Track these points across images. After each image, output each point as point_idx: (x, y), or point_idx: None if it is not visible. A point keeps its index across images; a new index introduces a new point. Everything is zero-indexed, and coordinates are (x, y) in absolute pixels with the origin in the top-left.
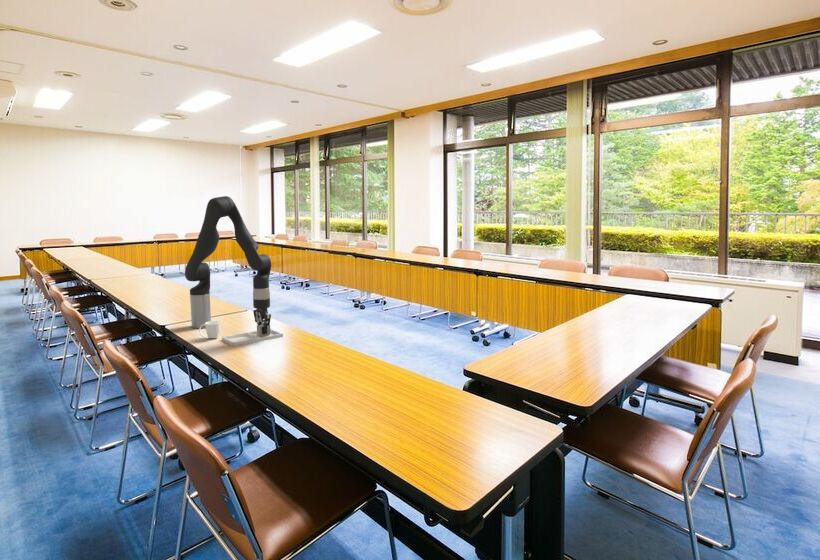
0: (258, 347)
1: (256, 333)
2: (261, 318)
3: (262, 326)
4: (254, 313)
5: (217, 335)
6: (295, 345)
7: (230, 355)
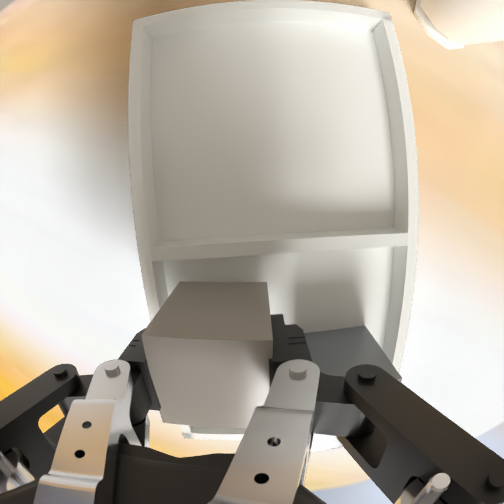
0: (46, 195)
1: (390, 316)
2: (65, 438)
3: (122, 361)
4: (455, 464)
5: (436, 17)
6: (29, 376)
7: (31, 28)
